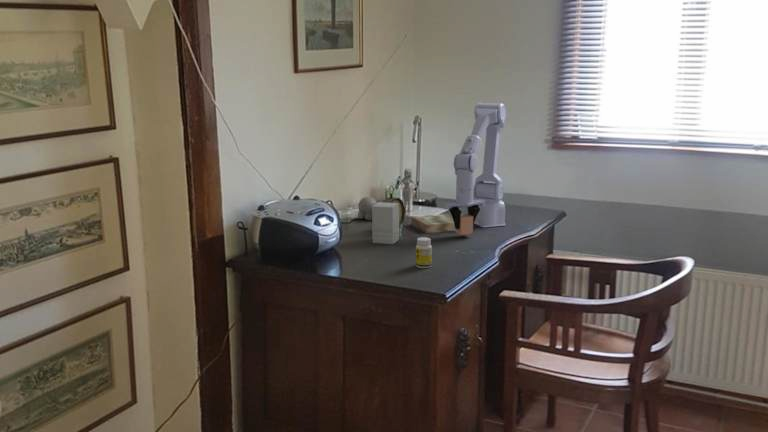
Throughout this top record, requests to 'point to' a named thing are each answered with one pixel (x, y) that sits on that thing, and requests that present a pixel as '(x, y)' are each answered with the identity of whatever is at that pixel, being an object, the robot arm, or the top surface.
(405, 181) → the human figurine
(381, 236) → the supplement box
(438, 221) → the plinth
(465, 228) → the block
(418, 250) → the supplement bottle
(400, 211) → the alarm clock
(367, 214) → the chubby cartoon animal
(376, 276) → the top surface
